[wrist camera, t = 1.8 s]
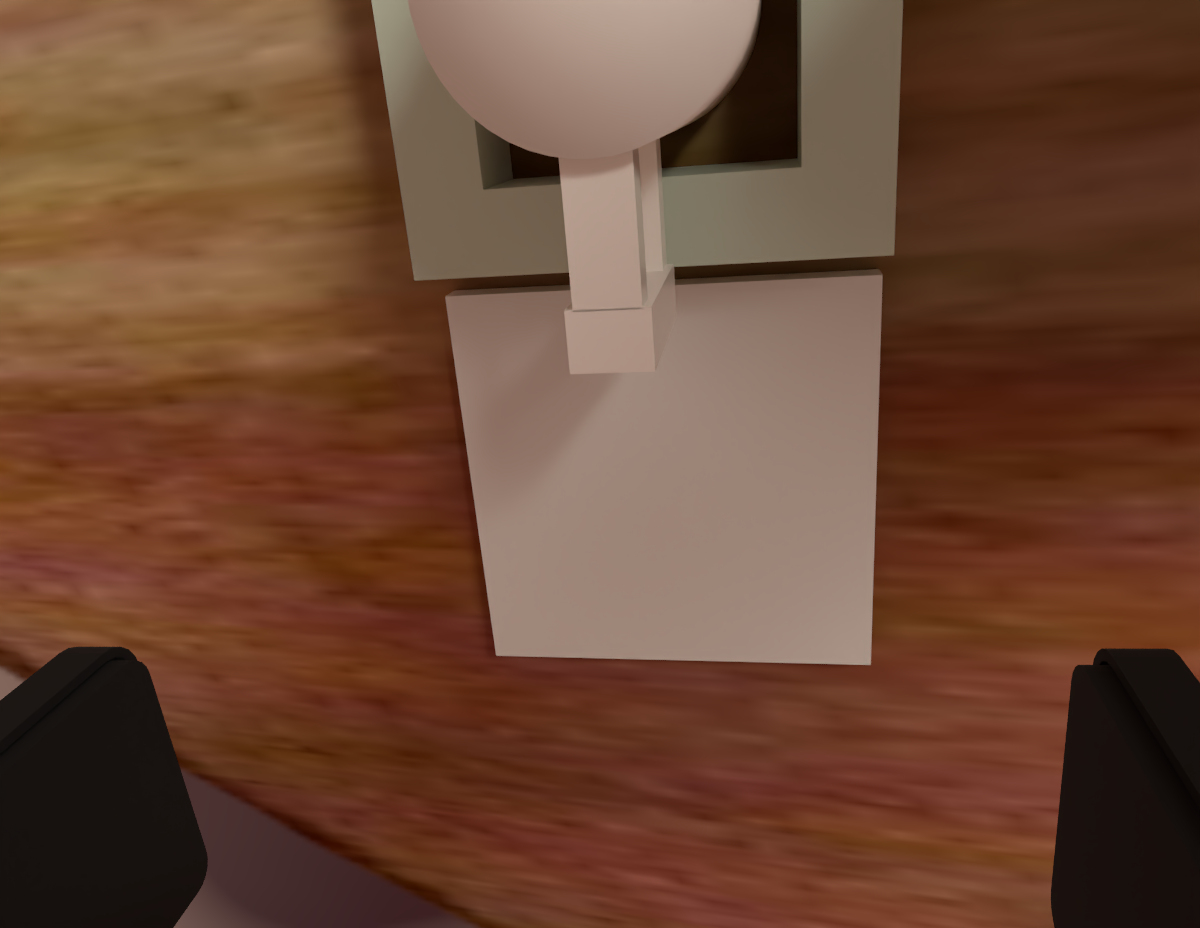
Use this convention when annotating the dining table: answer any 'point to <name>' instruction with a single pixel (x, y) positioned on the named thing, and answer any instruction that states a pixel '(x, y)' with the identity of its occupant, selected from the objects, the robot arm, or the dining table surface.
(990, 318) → the dining table surface
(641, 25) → the capsule with loop handle
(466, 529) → the dining table surface
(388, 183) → the dining table surface
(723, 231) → the holder
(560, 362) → the tile
